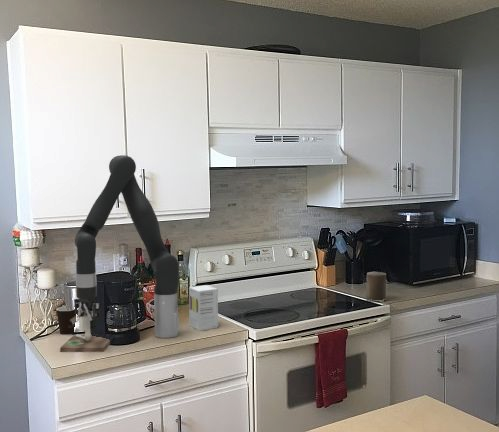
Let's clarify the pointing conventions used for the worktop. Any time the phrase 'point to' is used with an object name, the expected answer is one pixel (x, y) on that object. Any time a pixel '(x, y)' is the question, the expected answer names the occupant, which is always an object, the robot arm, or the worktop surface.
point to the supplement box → (203, 307)
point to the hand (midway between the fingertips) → (87, 327)
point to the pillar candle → (376, 286)
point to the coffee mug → (66, 320)
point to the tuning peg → (85, 327)
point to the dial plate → (85, 344)
